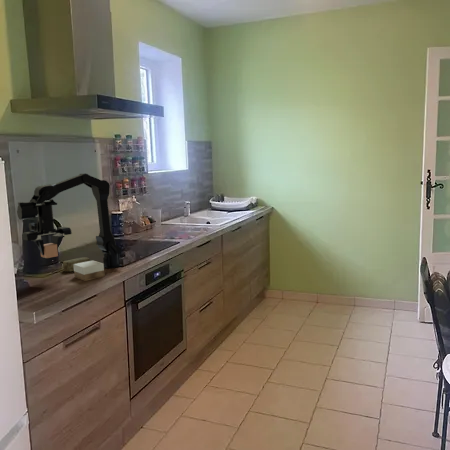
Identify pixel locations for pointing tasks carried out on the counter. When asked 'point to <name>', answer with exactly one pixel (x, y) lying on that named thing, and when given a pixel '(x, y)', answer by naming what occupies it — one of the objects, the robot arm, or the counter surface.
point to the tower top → (88, 267)
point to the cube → (50, 250)
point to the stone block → (69, 265)
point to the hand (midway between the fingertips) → (49, 253)
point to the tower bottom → (89, 275)
